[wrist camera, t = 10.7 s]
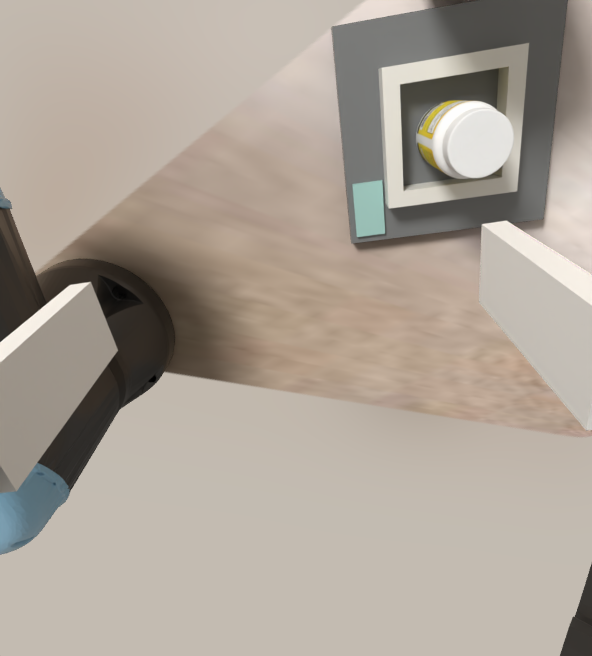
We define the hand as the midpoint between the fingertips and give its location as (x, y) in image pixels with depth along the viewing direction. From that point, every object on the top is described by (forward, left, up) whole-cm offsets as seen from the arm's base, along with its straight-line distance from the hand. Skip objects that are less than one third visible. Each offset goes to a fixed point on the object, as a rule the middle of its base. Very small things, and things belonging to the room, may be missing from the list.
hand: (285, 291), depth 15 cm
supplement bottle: (+11, +1, -24) cm, 27 cm away
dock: (+11, +2, -25) cm, 28 cm away
